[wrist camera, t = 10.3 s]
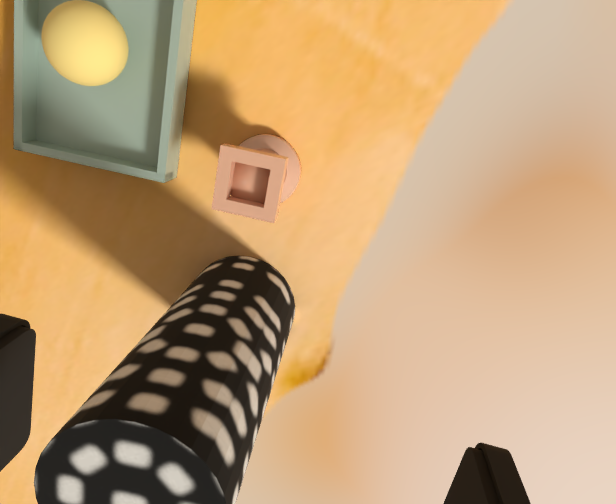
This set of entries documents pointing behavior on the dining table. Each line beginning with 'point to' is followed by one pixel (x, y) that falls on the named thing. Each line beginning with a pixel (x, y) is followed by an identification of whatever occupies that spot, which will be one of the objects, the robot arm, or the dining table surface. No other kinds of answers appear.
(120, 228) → the dining table surface
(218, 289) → the white-spotted black cylinder
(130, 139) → the tray
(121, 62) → the ball
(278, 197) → the egg cup
